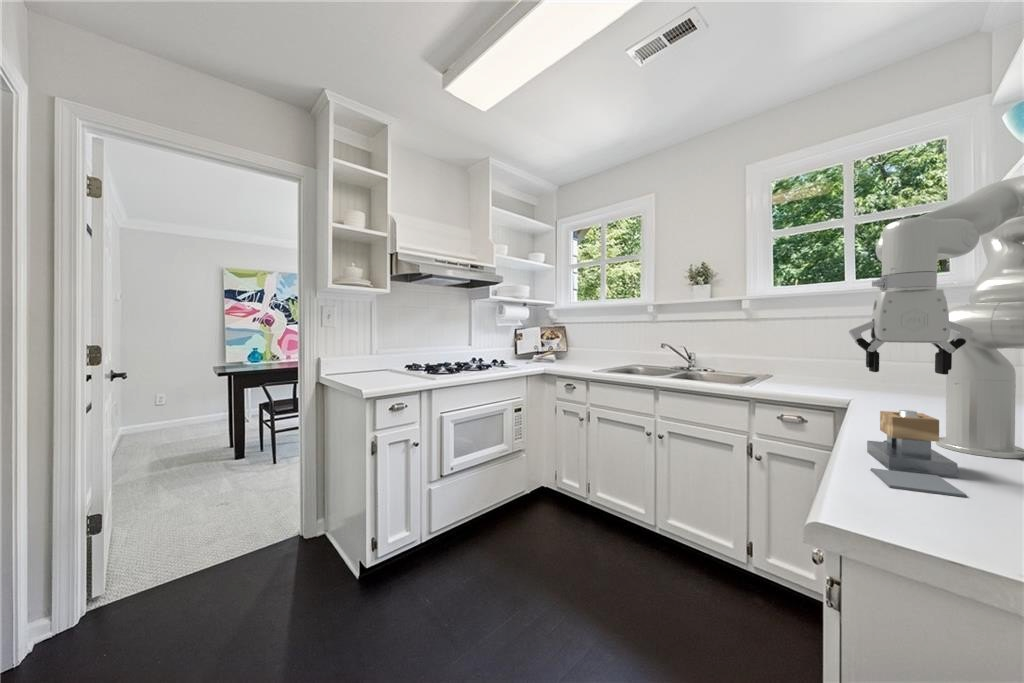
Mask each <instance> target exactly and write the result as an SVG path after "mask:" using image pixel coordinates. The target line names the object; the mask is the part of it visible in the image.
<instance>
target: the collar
mask: <svg viewBox="0 0 1024 683" xmlns="http://www.w3.org/2000/svg"><path fill="white" fill-rule="evenodd" d="M879 431H881V432H882V433H884V434H885V435H886V436H887V435H889V436H890V437H892V438H899V439H912V440H924V441H931V442H935V443H936V442H939V437H940V419H937V418H935V417H932V416H930V415H928V414H926V413H923V412H922V413H921V412H920V413H919V412H917V417H902V416H899V411H889V410H886V411H885V410H880V411H879Z"/></svg>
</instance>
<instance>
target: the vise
mask: <svg viewBox="0 0 1024 683" xmlns="http://www.w3.org/2000/svg"><path fill="white" fill-rule="evenodd" d="M898 412H899V416H902V417H917V413H918V412H917V411H915V410H911V409H910V410H907V409H900V410H899V411H898ZM866 449H867V450H866V452H867V453H868V454H869V455H870V456H871V457H872V458H874V459H875V460H876V461H877V462H879V463H880V464H881V465H882V466H884V467H885V468H886V470H892V471H901V472H910V473H919V474H928V475H937V476H939V477H940V476H941V477H950V478H958V463H957V462H955V461H954V460H952V459H951V458H949V457H947V456H944V455H943V454H941V453H939V452H937V451H935V449H932V441H924V440H912V439H899V438H892V437H890V436H889V435H887V434H886V440H883V441H879V440H878V441H877V440H866Z"/></svg>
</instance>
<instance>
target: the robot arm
mask: <svg viewBox="0 0 1024 683" xmlns="http://www.w3.org/2000/svg"><path fill="white" fill-rule="evenodd" d="M979 240H981V245H982V248H983V251H984V255H985V257H986V259H987V264H986V265H985V268H984V269H983V271H982V273H981V274H980V275H979V277H978V278H977V280H976V281H975V283H974V285H973V286H972V288H971V291H970V292H969V297H968V298H969V299H968V300H969V303H968V304H960V305H958V306H954V307H952V308H950V309H949V308H948V302H947V297H946V294H945V290H944V289H942V288H941V289H937V288H938V261H941V260H949V259H954V258H958V257H959V258H960V257H962V256H966V255H967V254H969V253H970V252H972V251H973V250H975V248H976V247H977V245H978V244H979V242H980V241H979ZM875 255H876V258H877V260H879V261H880V262H881V277H880V278H879V279H876V280H875V279H874V280H872V281H871V286H872V287H873V288H874V287H875V288H876V287H877V288H879V290H880V291H881V292H878V293H877V294H876V296H875V300H874V303H873V308H872V309H873V310H872V314H871V321H869V322H866V323H864V324H863V323H862V324H861V325H859V326H856V327H854V328H851V329H849V330H848V333H849V335H850V336H851V338H852V340H854V343H855V344H857V345H858V346H859V348H862V349H863V351H864V352H865V367H866V368H868V371H869V372H871V373H878V372H880V352H878V350H879V348H880V347H881V346H883V344H885V343H901V344H902V343H904V344H905V343H909V344H910V343H911V344H912V343H914V344H915V343H918V344H920V343H922V344H924V343H929V344H931V345H932V346H934V347H935V349H936V350H938V352H935V354H934V373H936V374H939V375H944V376H946V377H945V378H946V379H945V380H946V381H945V382H946V385H945V386H946V387H945V388H946V389H945V390H946V391H945V393H946V398H945V399H946V400H945V402H946V403H945V406H946V407H945V436H942V437H941V436H939V442H936V441H935V444H936V446H939V447H940V448H942V449H943V448H944V449H945V450H950V451H953V452H958V453H963V454H968V455H969V454H970V455H974V456H982V457H989V458H998V459H1024V448H1022V447H1019V446H1018V445H1017V446H1016V385H1017V384H1016V382H1017V381H1016V380H1017V379H1016V377H1017V373H1016V369H1015V367H1014V365H1013V364H1012V362H1011V361H1010V360H1009V359H1008V358H1007V357H1006V356H1005V355H1004V354H1002V353H1001V352H1000V351H999V350H998V349H1001V350H1002V349H1014V350H1015V349H1016V350H1017V349H1019V350H1020V349H1021V350H1022V349H1023V350H1024V174H1023V175H1019V176H1015V177H1011V178H1006V179H1003V180H1000V181H999V180H998V181H996V182H991V183H990V184H987V185H985V186H983V187H981V188H979V189H978V190H975V191H974V192H972V193H971V194H969V195H967V196H966V197H964V198H962V199H961V200H958V201H956V202H953V203H952V204H947V205H945V206H943V207H940V208H938V209H935V210H932V211H930V212H927V213H926V214H922V215H920V216H916V217H909V218H903V219H898V220H895V221H892V222H890V223H888V224H887V225H885V226H884V227H883V229H882V235H881V236H880V237H879V239H878V241H877V242H876V245H875ZM869 330H870V338H871V340H870V341H869V342H868V340H866V339H864V337H863V335H862V333H864V332H867V331H869Z"/></svg>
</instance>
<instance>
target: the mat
mask: <svg viewBox="0 0 1024 683" xmlns="http://www.w3.org/2000/svg"><path fill="white" fill-rule="evenodd" d="M870 471H871V472H872V473H873V474H874V475H875V476H876V477H877V478H879V480H880V481H882V482H883V483H884V484H885V485H886V486H887V487H888V488H890V489H898V490H899V489H900V490H906V491H915V492H921V493H929V494H937V495H938V494H939V495H946V496H953V497H959V498H960V497H962V498H968V495H967V493H965V492H963V491H962V490H960V489H959V488H958V487H955V485H952V484H951V483H949V481H947V480H945V479H943V477H942V476H941V477H940V476H938V475H929V474H920V473H911V472H902V471H893V470H888V469H882V468H874V467H873V468H872V467H871V468H870Z"/></svg>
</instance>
